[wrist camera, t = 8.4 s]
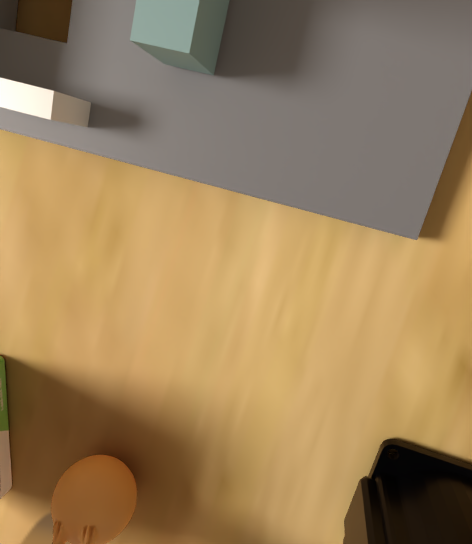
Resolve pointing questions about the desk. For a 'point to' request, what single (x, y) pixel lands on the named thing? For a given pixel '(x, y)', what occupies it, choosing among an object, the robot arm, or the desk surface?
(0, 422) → the ink box
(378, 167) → the board
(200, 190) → the desk surface
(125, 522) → the figurine
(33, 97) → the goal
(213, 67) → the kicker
